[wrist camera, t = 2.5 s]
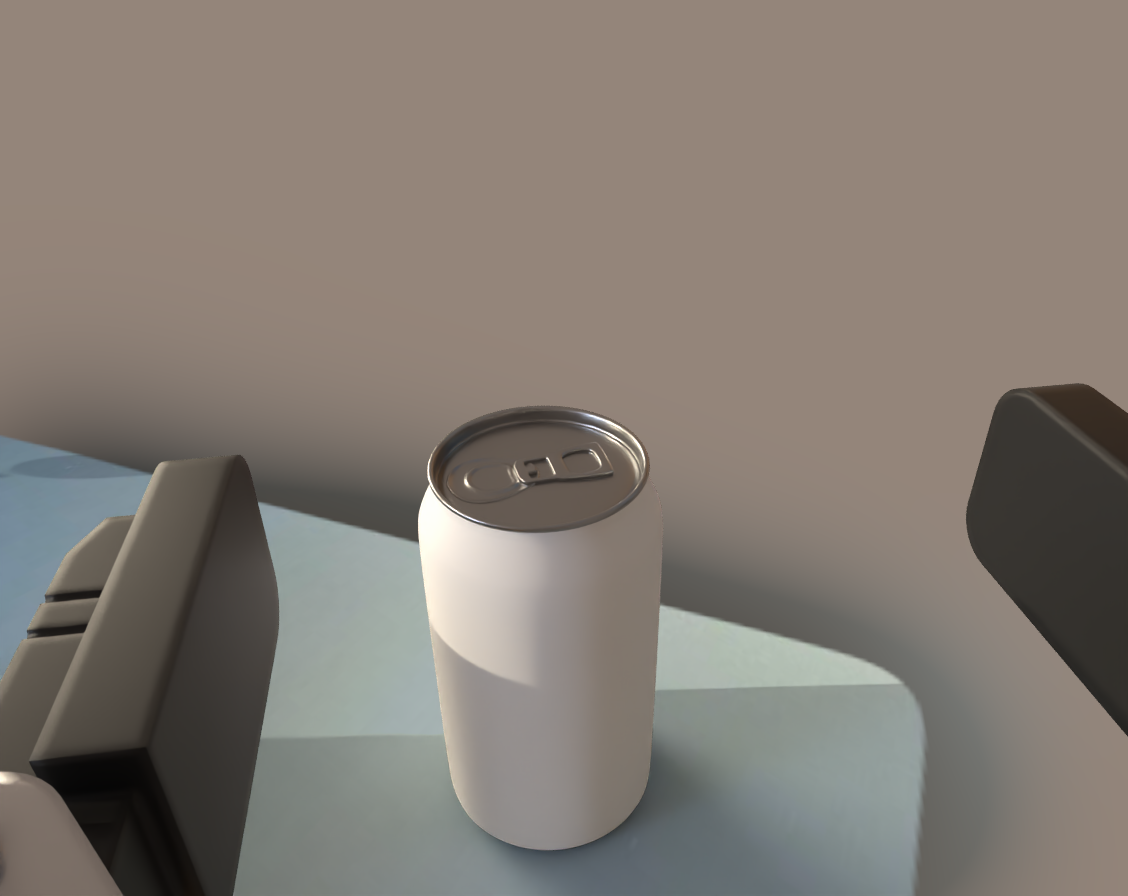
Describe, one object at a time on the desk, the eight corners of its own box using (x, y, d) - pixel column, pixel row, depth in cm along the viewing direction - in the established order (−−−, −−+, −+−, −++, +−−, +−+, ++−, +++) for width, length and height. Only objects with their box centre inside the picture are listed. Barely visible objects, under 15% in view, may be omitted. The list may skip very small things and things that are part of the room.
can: (436, 714, 31) (394, 417, 24) (613, 674, 32) (618, 382, 26) (471, 885, 26) (430, 564, 19) (681, 827, 27) (708, 511, 21)
